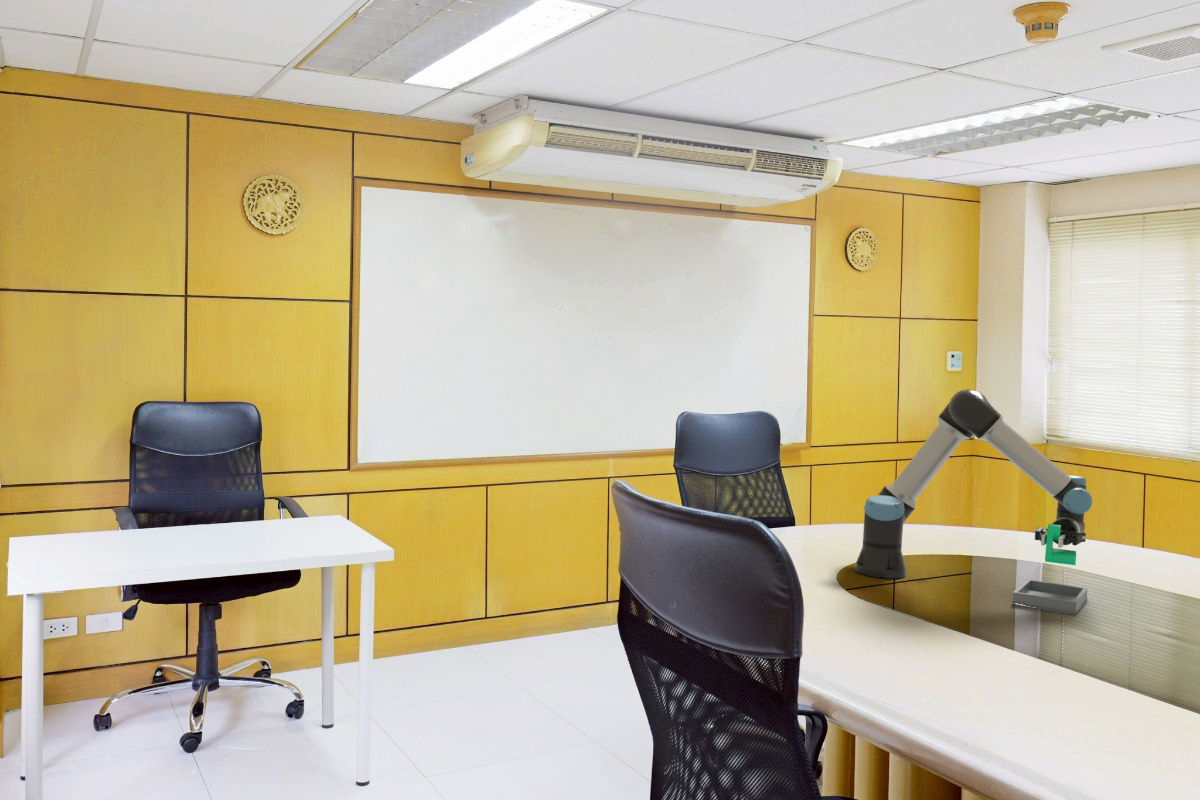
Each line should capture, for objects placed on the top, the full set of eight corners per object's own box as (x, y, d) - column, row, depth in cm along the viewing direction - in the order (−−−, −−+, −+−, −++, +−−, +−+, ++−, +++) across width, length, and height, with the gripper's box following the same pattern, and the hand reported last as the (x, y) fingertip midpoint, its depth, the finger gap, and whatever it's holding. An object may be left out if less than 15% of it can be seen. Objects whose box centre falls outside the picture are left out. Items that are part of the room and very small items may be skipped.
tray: (1012, 604, 275) (1012, 592, 275) (1027, 590, 293) (1027, 579, 293) (1075, 615, 266) (1076, 602, 266) (1086, 600, 285) (1087, 588, 285)
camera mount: (1075, 567, 270) (1078, 530, 270) (1044, 563, 274) (1047, 526, 273) (1075, 560, 281) (1078, 524, 281) (1046, 556, 284) (1048, 521, 284)
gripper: (1094, 547, 290) (1083, 559, 270) (1033, 539, 299) (1018, 550, 279) (1096, 522, 289) (1085, 532, 270) (1034, 514, 299) (1019, 524, 279)
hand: (1051, 541), depth 275 cm, fingers closed on camera mount, 4 cm apart
